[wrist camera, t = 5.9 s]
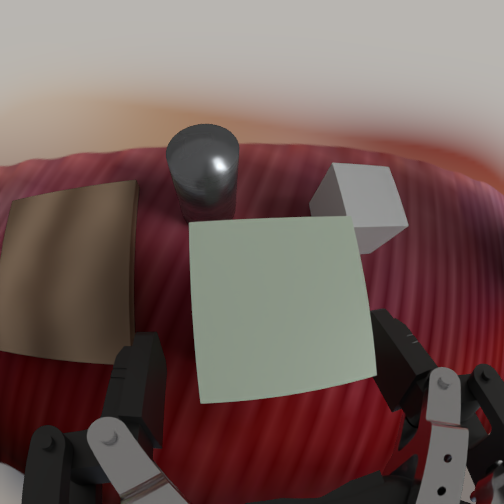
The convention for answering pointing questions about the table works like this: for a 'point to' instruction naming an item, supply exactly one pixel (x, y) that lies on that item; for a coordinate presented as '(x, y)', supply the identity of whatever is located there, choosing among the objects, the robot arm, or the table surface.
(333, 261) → the sage block
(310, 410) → the table surface
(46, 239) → the walnut board
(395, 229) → the grey block
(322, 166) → the table surface
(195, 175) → the metal cylinder
